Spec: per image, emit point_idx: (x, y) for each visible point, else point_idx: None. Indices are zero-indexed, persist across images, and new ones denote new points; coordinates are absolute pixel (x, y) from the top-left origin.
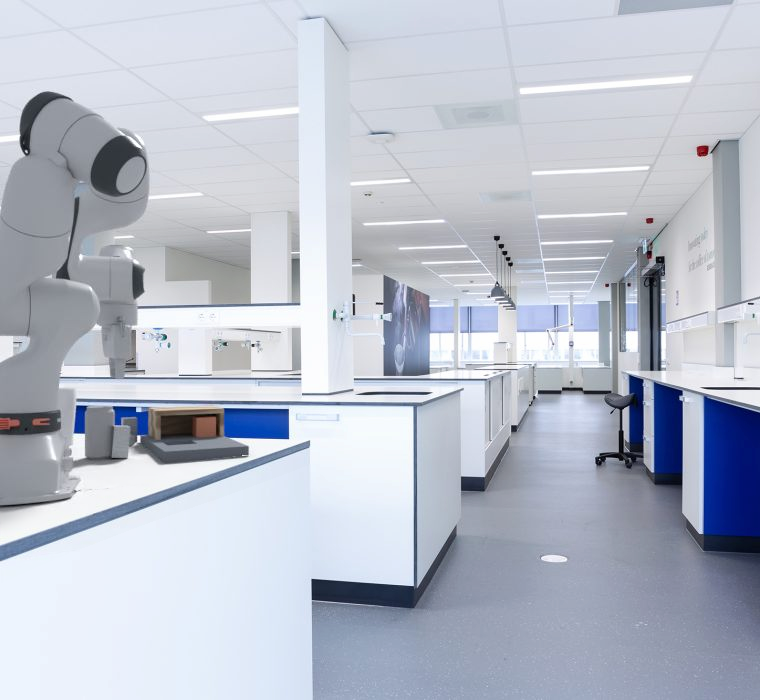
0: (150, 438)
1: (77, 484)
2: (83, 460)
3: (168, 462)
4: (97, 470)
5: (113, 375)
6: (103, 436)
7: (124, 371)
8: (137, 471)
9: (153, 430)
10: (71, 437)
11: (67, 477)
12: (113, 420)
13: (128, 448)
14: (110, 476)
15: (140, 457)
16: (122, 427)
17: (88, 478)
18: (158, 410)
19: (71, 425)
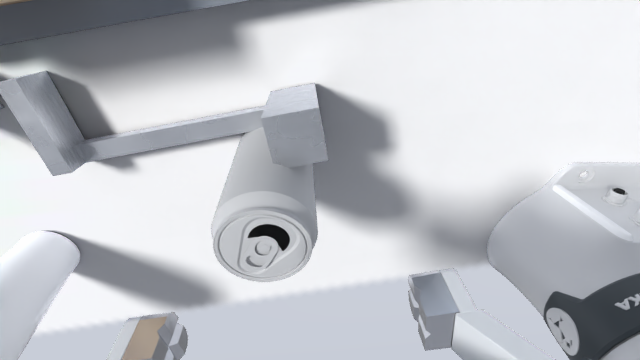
0: (47, 14)
1: (624, 163)
2: None
3: None
4: (469, 142)
5: (180, 338)
6: (312, 174)
7: (475, 306)
8: (543, 50)
9: (5, 3)
10: (40, 248)
11: (566, 186)
12: (282, 175)
13: (315, 89)
14: (570, 110)
15: (290, 45)
16: (323, 134)
17: (562, 151)
18: None
19: (19, 274)
